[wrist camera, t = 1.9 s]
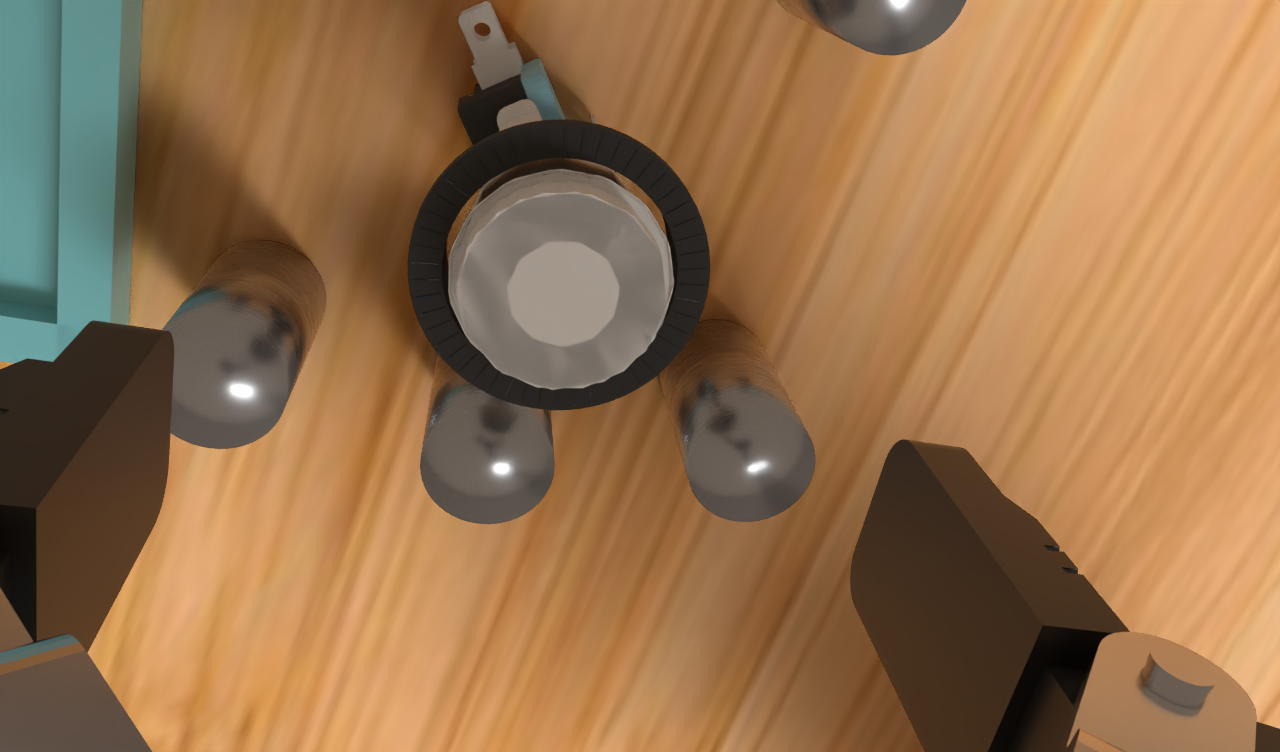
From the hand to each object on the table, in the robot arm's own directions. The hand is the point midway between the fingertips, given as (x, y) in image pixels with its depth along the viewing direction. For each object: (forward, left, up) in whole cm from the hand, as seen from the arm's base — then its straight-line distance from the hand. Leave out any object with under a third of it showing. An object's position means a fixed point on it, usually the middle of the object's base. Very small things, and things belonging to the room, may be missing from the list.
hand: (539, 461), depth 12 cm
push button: (0, 0, -17) cm, 17 cm away
